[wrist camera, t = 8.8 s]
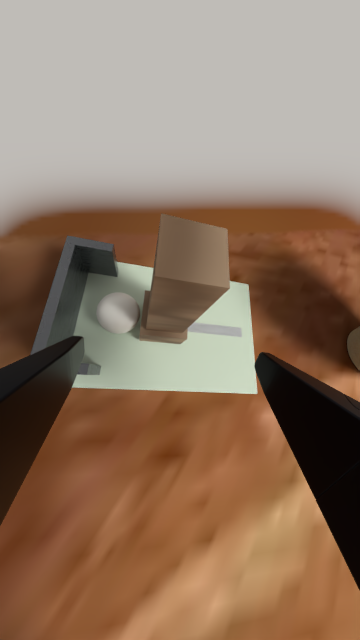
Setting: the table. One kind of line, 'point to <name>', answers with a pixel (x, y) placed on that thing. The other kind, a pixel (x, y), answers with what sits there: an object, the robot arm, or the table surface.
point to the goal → (73, 291)
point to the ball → (118, 313)
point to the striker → (184, 278)
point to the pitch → (166, 358)
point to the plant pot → (354, 347)
